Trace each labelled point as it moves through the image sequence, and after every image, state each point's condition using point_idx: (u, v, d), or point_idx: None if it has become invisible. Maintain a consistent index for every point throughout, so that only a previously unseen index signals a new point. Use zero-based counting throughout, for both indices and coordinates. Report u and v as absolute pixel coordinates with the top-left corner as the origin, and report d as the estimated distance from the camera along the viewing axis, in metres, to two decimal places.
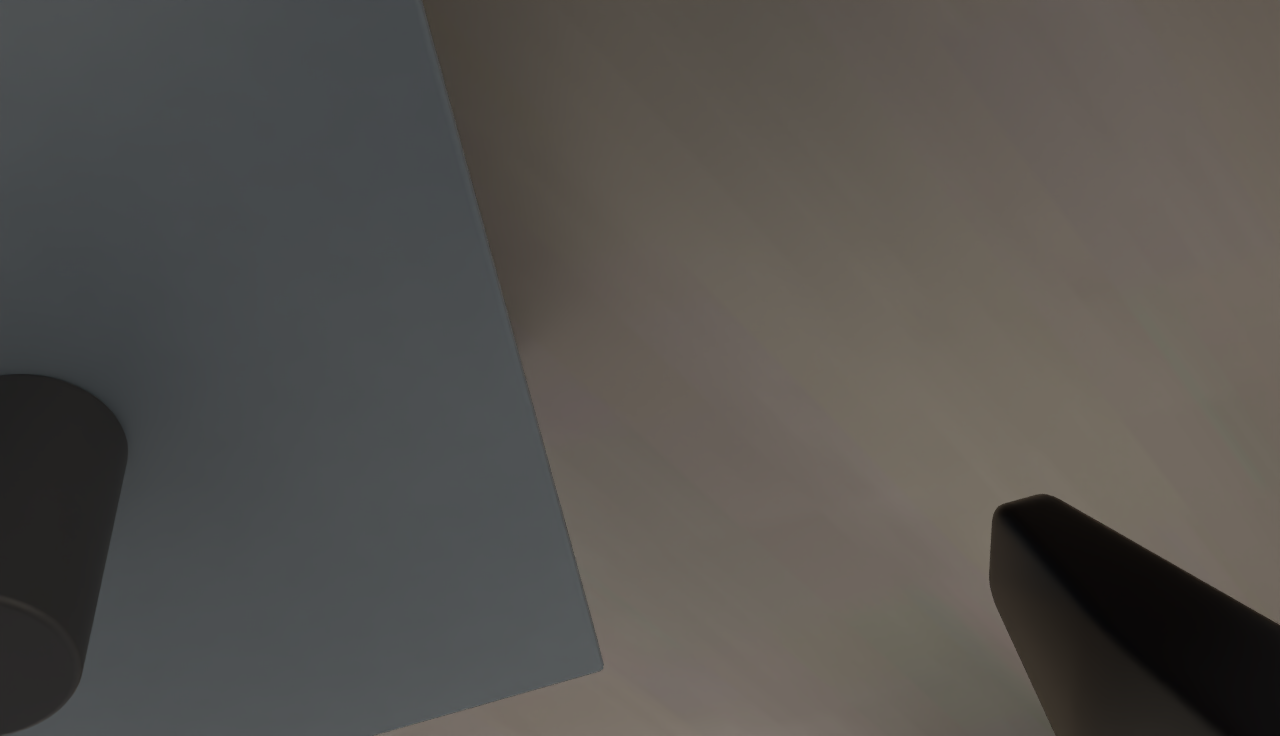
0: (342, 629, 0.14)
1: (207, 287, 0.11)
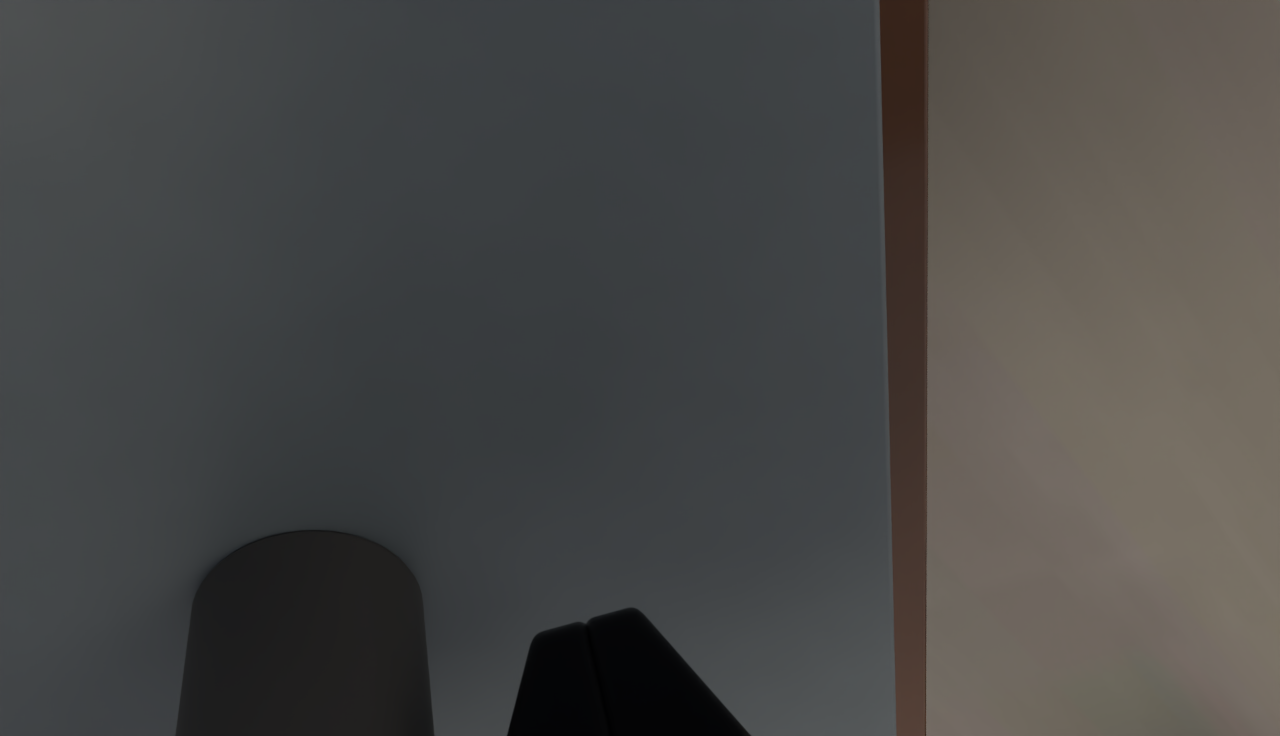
0: None
1: (550, 421, 0.09)
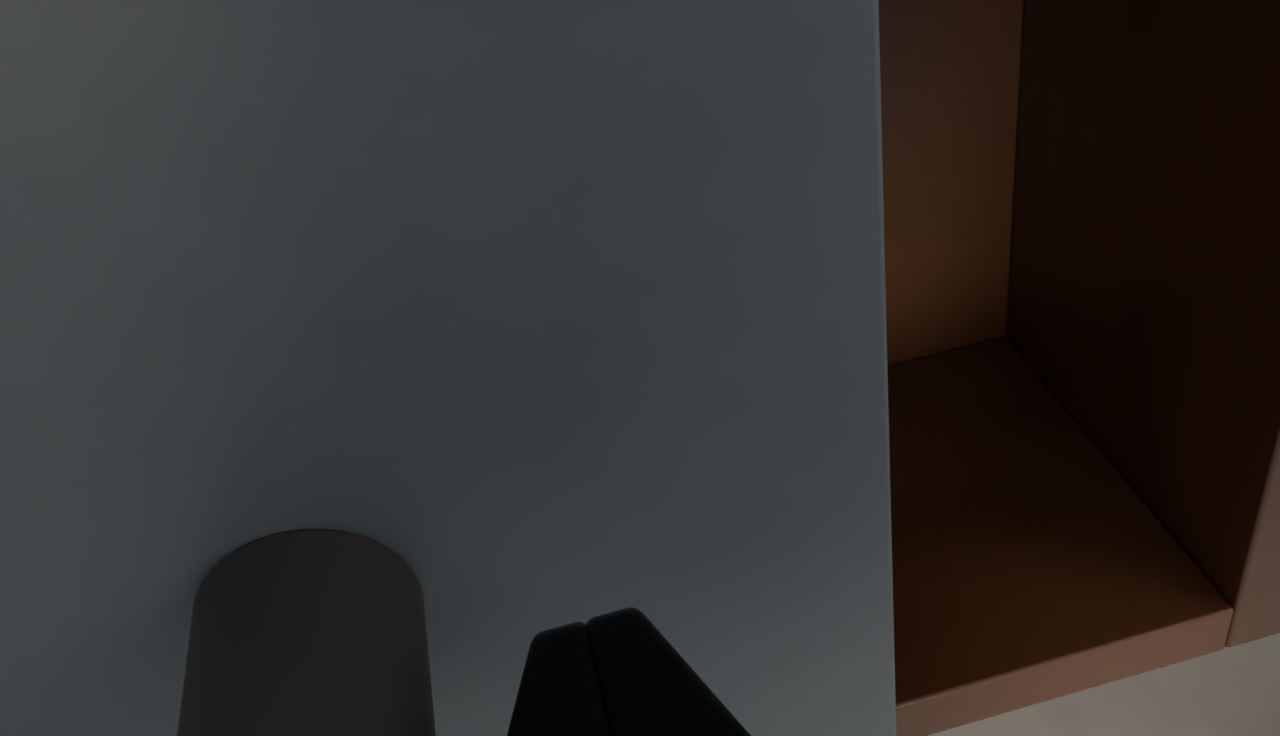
0: None
1: (551, 420, 0.09)
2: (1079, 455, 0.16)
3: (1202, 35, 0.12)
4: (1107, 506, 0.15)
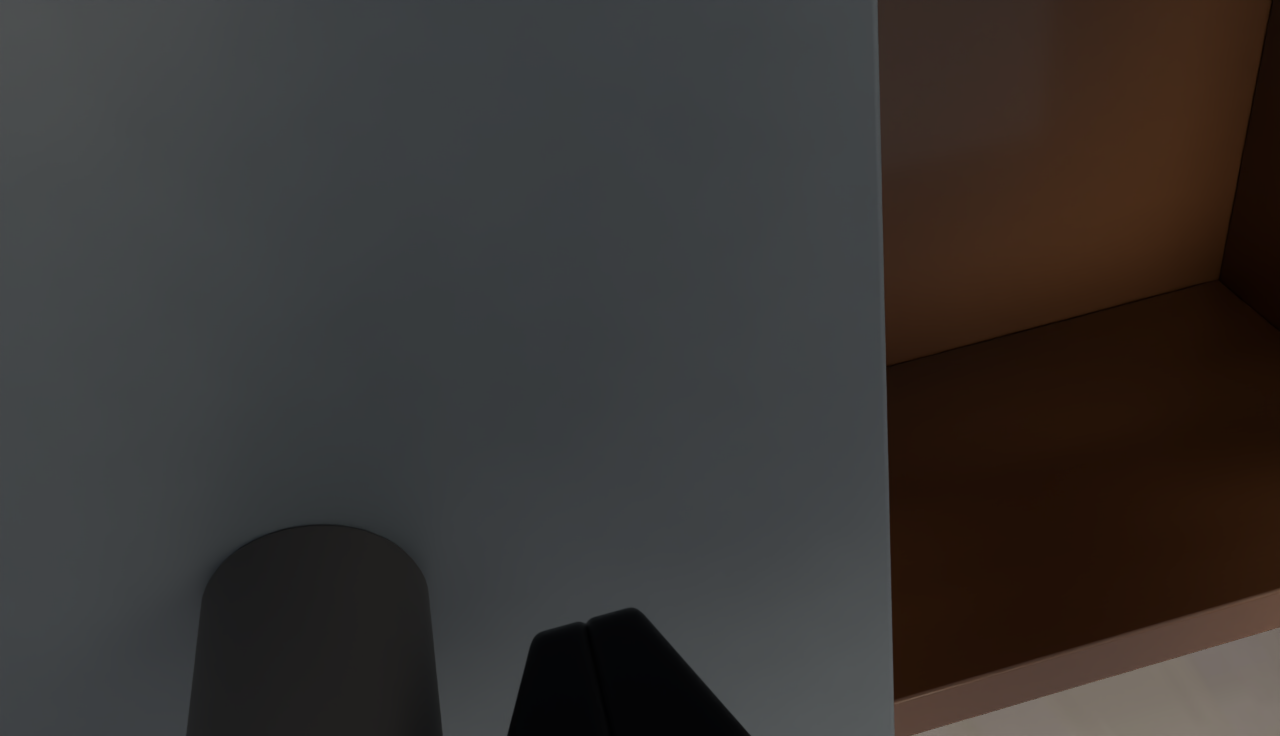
0: None
1: (555, 417, 0.09)
2: None
3: None
4: None
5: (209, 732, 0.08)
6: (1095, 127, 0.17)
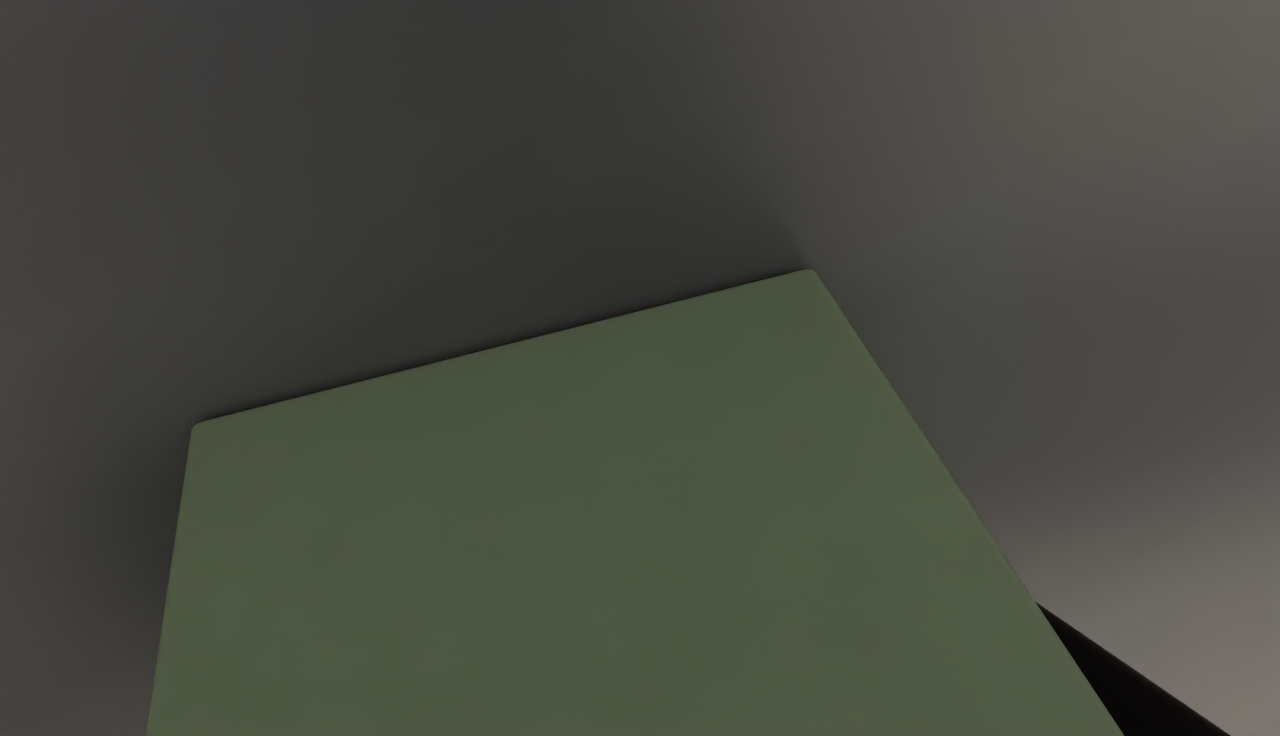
0: None
1: None
2: None
3: None
4: None
5: None
6: None
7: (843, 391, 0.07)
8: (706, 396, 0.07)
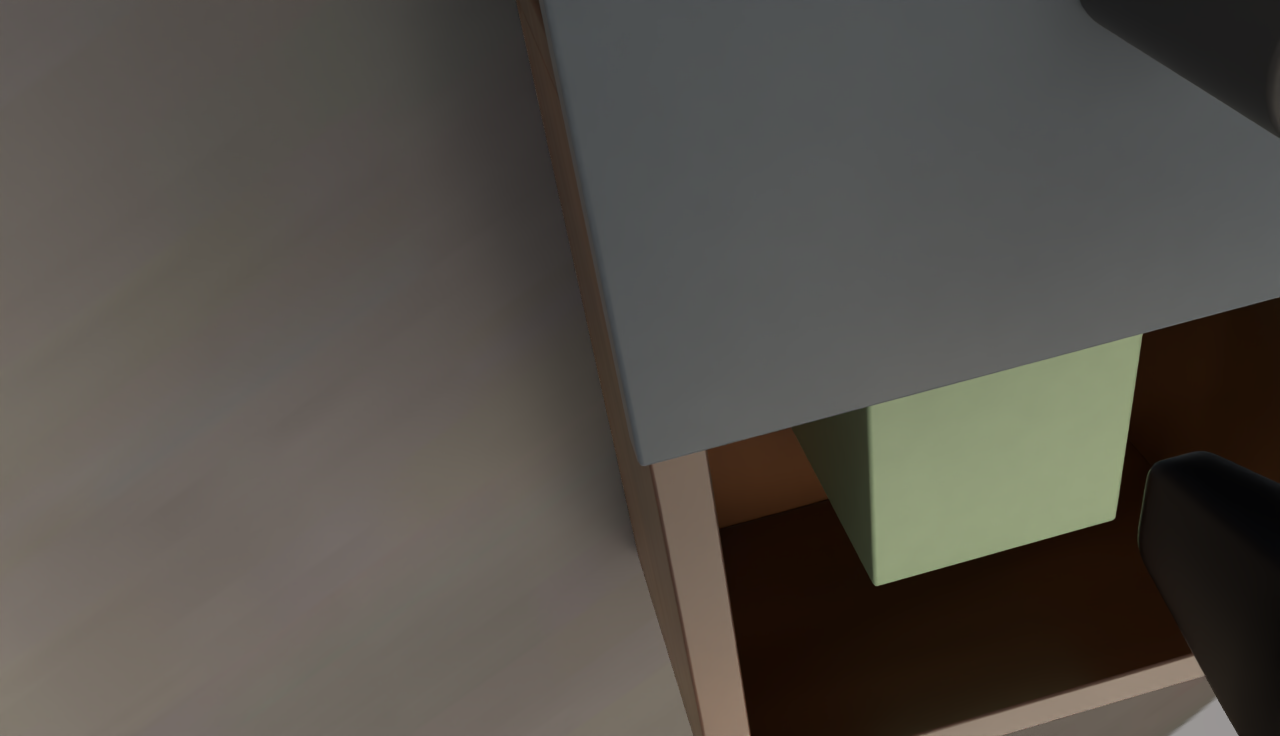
0: (797, 211, 0.12)
1: (1235, 121, 0.13)
2: None
3: (1044, 587, 0.22)
4: None
5: None
6: None
7: None
8: None
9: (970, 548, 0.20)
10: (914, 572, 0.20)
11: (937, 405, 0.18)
